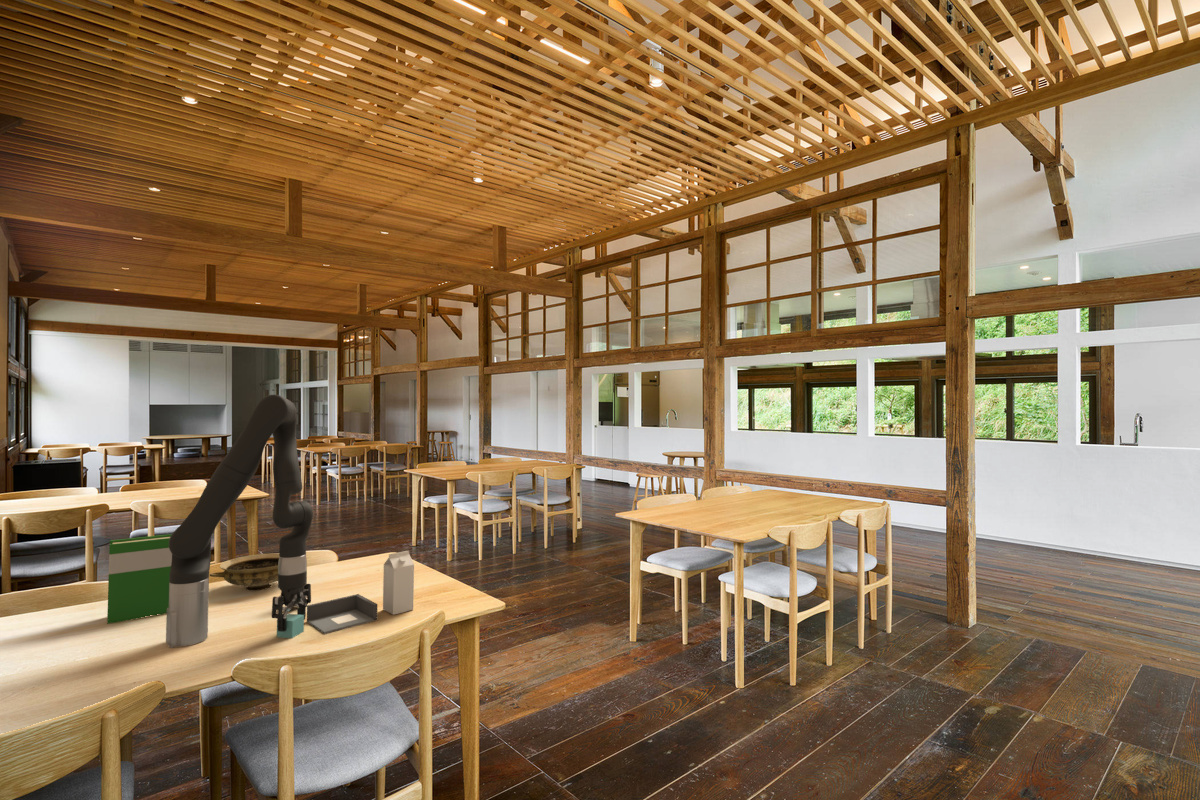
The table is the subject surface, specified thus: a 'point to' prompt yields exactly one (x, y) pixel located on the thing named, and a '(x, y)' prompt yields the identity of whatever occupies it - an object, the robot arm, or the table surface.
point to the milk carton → (398, 583)
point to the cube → (292, 626)
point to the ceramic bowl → (251, 571)
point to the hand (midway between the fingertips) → (291, 625)
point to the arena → (341, 613)
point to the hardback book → (138, 577)
